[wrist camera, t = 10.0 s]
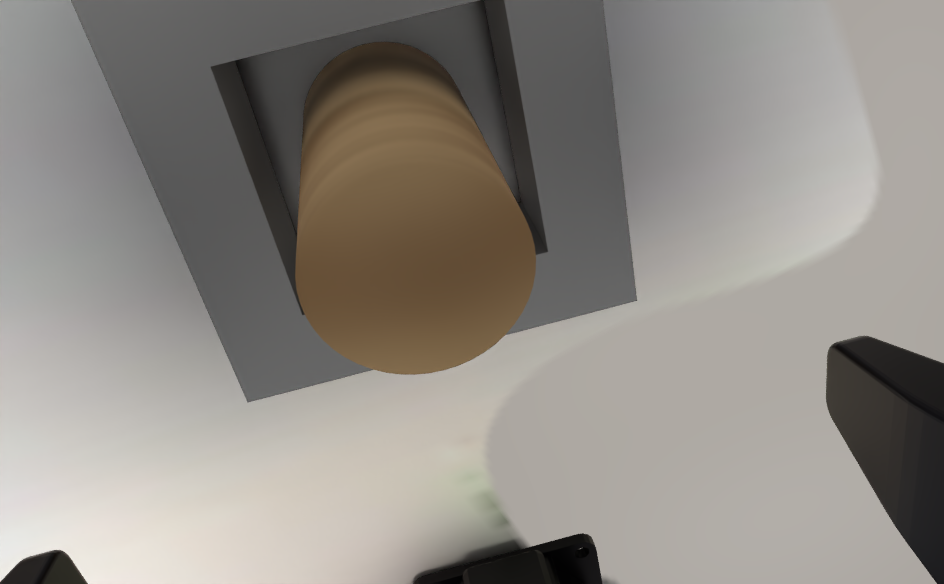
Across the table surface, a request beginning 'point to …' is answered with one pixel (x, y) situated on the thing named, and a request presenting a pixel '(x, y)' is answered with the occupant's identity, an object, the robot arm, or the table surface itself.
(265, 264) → the block
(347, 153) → the long peg
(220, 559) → the table surface
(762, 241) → the table surface
